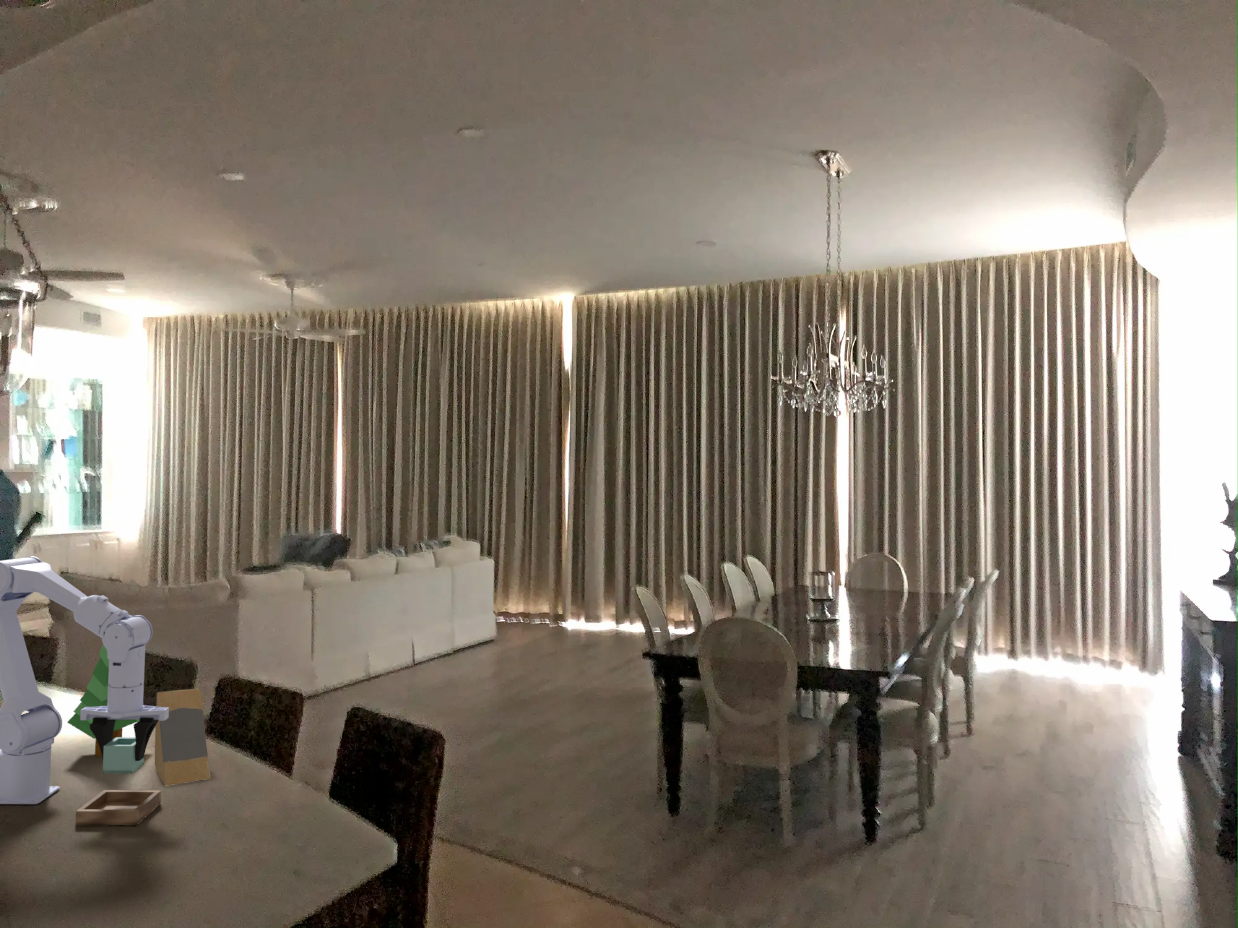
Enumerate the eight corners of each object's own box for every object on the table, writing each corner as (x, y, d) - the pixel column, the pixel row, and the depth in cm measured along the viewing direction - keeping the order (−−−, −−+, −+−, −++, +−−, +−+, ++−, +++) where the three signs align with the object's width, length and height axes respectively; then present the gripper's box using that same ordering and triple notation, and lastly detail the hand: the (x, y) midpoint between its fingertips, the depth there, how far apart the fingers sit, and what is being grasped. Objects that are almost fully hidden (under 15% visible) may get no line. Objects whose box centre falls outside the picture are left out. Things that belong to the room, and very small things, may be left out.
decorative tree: (107, 768, 181) (113, 620, 182) (51, 757, 187) (57, 613, 187) (162, 749, 194) (168, 611, 194) (109, 739, 200) (114, 605, 200)
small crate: (102, 773, 161) (103, 745, 161) (115, 764, 166) (116, 737, 166) (132, 773, 161) (133, 745, 161) (143, 764, 166) (144, 737, 166)
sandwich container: (164, 787, 173) (167, 709, 173) (152, 764, 186) (156, 691, 186) (212, 780, 178) (215, 704, 178) (198, 758, 191) (201, 687, 191)
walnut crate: (75, 825, 154) (76, 810, 154) (103, 803, 164) (104, 789, 164) (136, 825, 155) (136, 811, 155) (160, 803, 165) (161, 790, 165)
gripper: (72, 689, 158) (70, 766, 158) (158, 690, 160) (156, 766, 160) (92, 679, 165) (89, 753, 165) (174, 680, 167) (171, 753, 167)
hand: (123, 759), depth 163 cm, fingers closed on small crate, 5 cm apart
